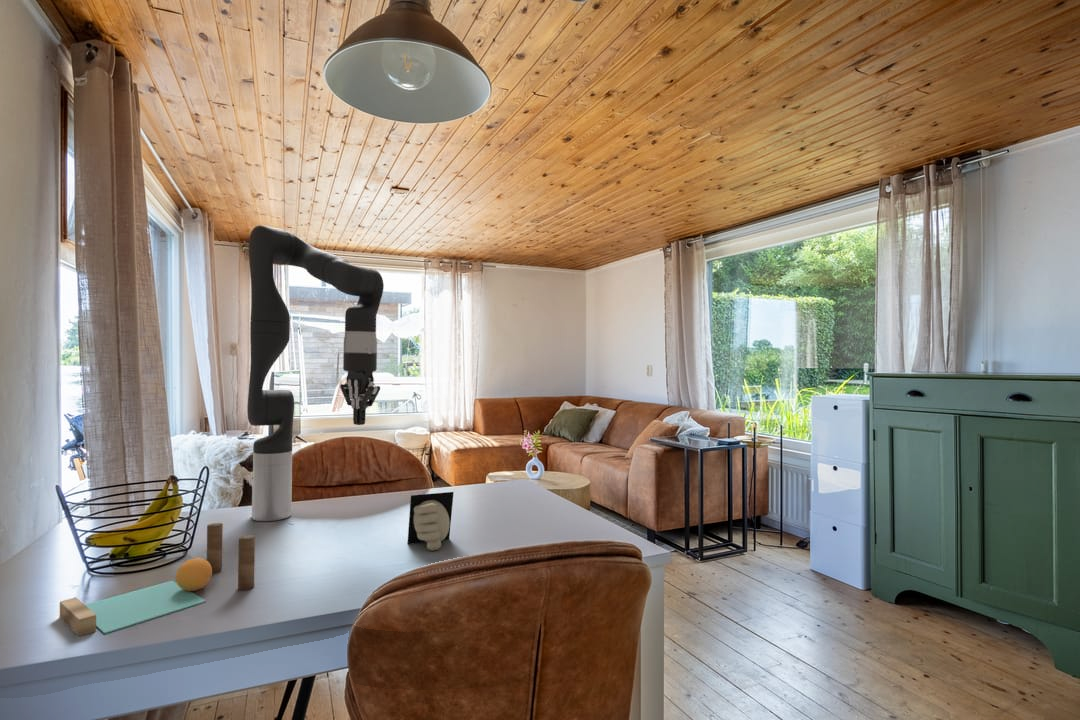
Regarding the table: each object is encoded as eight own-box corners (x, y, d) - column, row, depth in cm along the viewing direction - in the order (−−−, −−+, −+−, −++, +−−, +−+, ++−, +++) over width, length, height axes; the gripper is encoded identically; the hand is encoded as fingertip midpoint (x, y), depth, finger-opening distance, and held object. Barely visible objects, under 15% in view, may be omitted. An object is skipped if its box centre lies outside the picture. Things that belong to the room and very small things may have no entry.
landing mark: (75, 608, 90) (75, 607, 90) (172, 581, 102) (172, 580, 102) (104, 634, 82) (104, 632, 82) (205, 601, 94) (205, 600, 94)
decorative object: (456, 557, 122) (413, 563, 118) (446, 532, 131) (405, 537, 127) (461, 508, 119) (416, 512, 115) (450, 486, 128) (408, 489, 124)
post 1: (204, 571, 107) (204, 525, 107) (218, 567, 109) (218, 522, 109) (210, 574, 105) (210, 527, 105) (224, 570, 107) (225, 524, 107)
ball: (195, 586, 101) (164, 584, 97) (208, 556, 103) (178, 553, 99) (210, 595, 98) (179, 594, 94) (223, 564, 100) (192, 561, 95)
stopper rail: (59, 617, 87) (59, 601, 87) (75, 612, 89) (75, 597, 89) (79, 636, 81) (79, 619, 81) (96, 631, 83) (96, 614, 83)
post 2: (235, 588, 99) (235, 538, 99) (249, 583, 101) (250, 534, 101) (242, 591, 98) (242, 541, 98) (256, 587, 100) (257, 537, 100)
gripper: (330, 350, 131) (329, 423, 131) (363, 351, 123) (362, 428, 123) (357, 351, 137) (356, 421, 137) (391, 351, 129) (389, 425, 129)
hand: (359, 424), depth 130 cm, fingers closed
